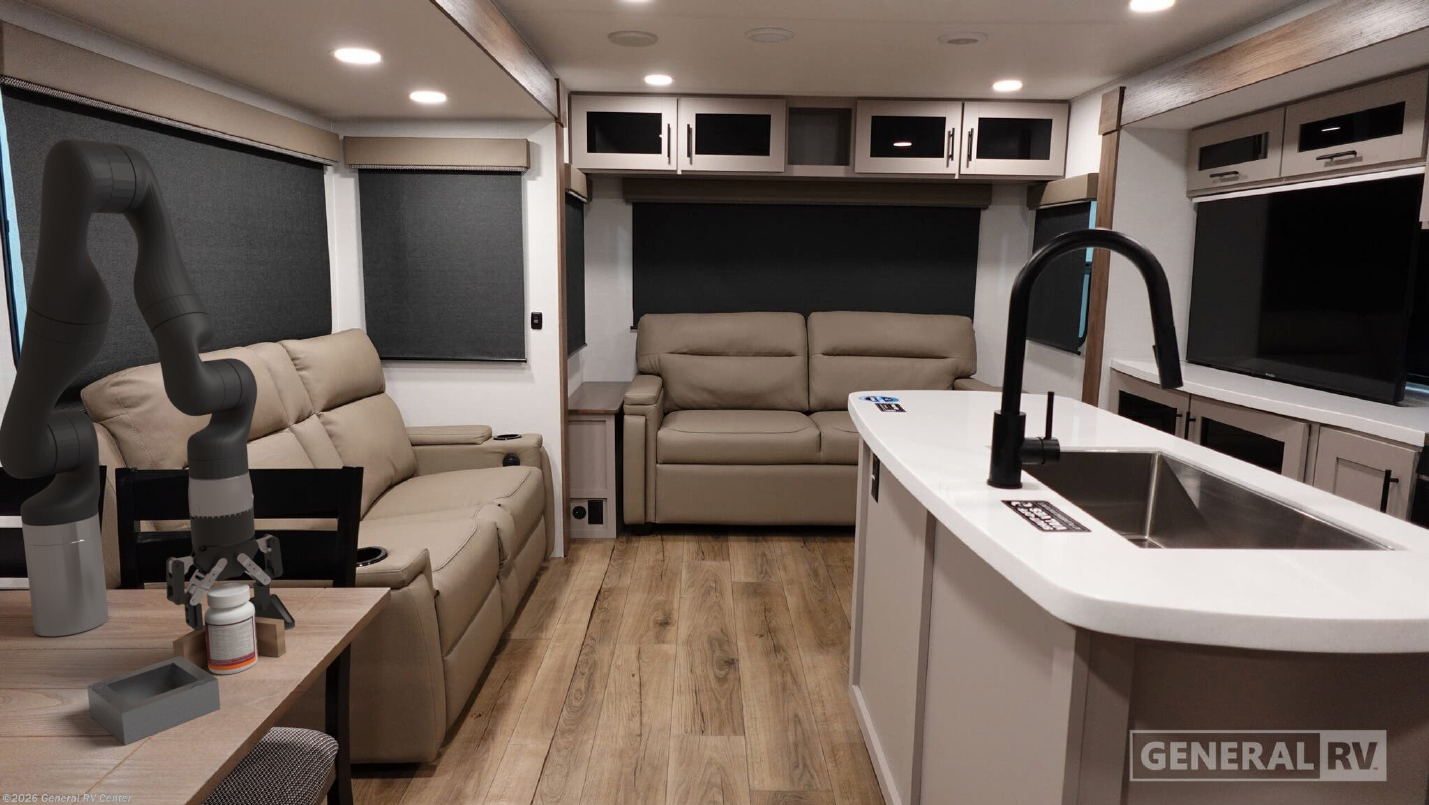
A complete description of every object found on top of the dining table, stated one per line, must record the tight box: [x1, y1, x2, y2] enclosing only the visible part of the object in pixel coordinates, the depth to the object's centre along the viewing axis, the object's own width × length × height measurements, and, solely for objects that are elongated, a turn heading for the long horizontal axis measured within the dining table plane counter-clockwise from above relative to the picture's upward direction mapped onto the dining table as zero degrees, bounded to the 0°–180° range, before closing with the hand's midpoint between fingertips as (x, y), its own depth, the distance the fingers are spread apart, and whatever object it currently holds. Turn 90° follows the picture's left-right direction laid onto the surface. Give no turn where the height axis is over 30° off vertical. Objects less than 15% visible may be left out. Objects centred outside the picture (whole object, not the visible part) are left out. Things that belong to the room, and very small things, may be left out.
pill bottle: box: [203, 582, 259, 675], centre depth 118 cm, size 6×6×11 cm
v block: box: [172, 617, 287, 669], centre depth 122 cm, size 8×14×5 cm, turn 124°
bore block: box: [86, 655, 221, 746], centre depth 106 cm, size 11×11×4 cm
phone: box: [249, 593, 296, 631], centre depth 135 cm, size 8×1×15 cm
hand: (229, 618), depth 118 cm, fingers open, 8 cm apart
